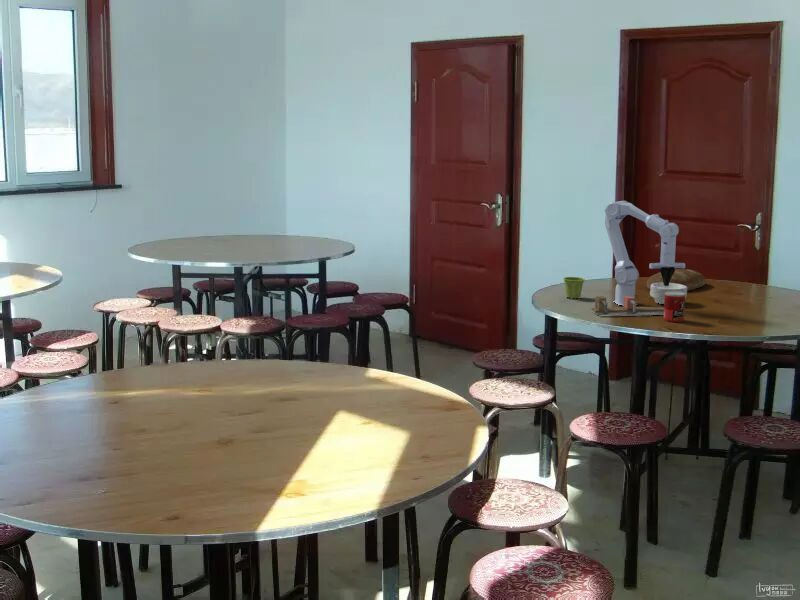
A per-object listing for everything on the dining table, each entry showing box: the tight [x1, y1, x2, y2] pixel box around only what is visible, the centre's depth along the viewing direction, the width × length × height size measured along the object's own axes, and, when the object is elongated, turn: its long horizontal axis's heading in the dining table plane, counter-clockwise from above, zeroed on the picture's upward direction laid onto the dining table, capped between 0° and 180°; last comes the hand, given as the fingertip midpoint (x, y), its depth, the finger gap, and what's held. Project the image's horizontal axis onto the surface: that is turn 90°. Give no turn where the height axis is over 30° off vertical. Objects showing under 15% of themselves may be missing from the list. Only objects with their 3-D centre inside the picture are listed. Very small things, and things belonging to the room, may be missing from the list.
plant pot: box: [562, 276, 585, 299], centre depth 437 cm, size 9×9×9 cm
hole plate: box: [595, 311, 664, 317], centre depth 401 cm, size 6×30×1 cm, turn 96°
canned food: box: [663, 291, 686, 323], centre depth 390 cm, size 8×8×11 cm
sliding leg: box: [622, 296, 637, 312], centre depth 404 cm, size 10×3×5 cm, turn 6°
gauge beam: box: [591, 295, 664, 312], centre depth 404 cm, size 10×30×6 cm, turn 96°
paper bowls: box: [649, 283, 688, 305], centre depth 425 cm, size 15×15×8 cm
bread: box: [646, 268, 707, 292], centre depth 465 cm, size 22×37×8 cm, turn 137°
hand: (666, 285), depth 409 cm, fingers closed
